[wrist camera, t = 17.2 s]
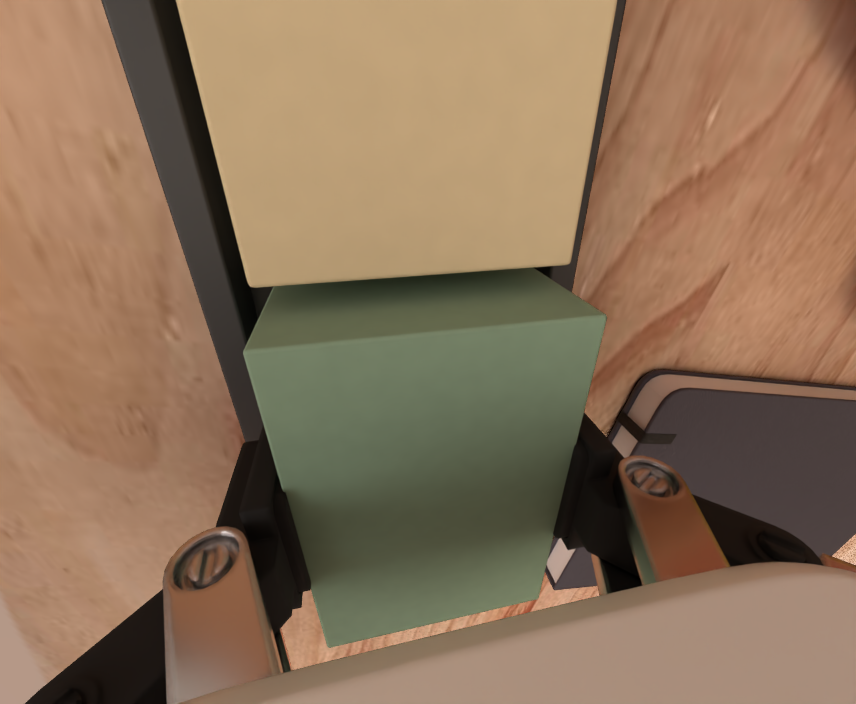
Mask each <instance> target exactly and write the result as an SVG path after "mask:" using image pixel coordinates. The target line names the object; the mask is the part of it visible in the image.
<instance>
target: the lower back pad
mask: <svg viewBox="0 0 856 704" xmlns="http://www.w3.org/2000/svg"><path fill="white" fill-rule="evenodd" d="M606 320H607V316H606V314H604V313H602V312H601V311H599V310H598V309H596V308H595V307H593V306H592V305H590V304H589V303H587V302H585V301H584V300H582V299H581V298H579V297H578V296H576V295H575V294H573V293H571V292H570V291H568V290H567V289H565V288H564V287H562V286H561V285H559V284H558V283H556V282H554V281H553V280H551V279H550V278H548V277H547V276H545V275H544V274H542V273H541V272H539V271H537V270H536V269H534V268H520V269H506V270H492V271H479V272H465V273H451V274H437V275H424V276H410V277H396V278H382V279H369V280H355V281H341V282H327V283H314V284H300V285H286V286H274V287H273V289H272V291H271V293H270V295H269V297H268V299H267V302H266V304H265V306H264V308H263V310H262V312H261V314H260V317H259V319H258V321H257V323H256V325H255V327H254V329H253V331H252V334H251V336H250V338H249V340H248V342H247V344H246V346H245V349H244V351H243V355H244V358H245V362H246V365H247V369H248V372H249V376H250V379H251V383H252V386H253V390H254V393H255V397H256V400H257V404H258V407H259V411H260V414H261V417H262V421H263V424H264V428H265V431H266V435H267V438H268V442H269V445H270V449H271V452H272V456H273V459H274V463H275V466H276V470H277V473H278V476H279V480H280V483H281V487H282V490H283V492H286V495H287V499H288V502H289V506H290V509H291V513H292V516H293V520H294V523H295V527H296V530H297V534H298V538H299V541H300V545H301V548H302V552H303V555H304V559H305V562H306V566H307V569H308V573H309V576H310V580H311V591H312V595H313V598H314V602H315V605H316V608H317V612H318V615H319V619H320V622H321V626H322V629H323V633H324V636H325V640H326V643H327V646H328V647H329V648H331V647H335V646H339V645H344V644H348V643H352V642H356V641H361V640H365V639H369V638H374V637H378V636H382V635H386V634H391V633H395V632H399V631H403V630H408V629H412V628H416V627H420V626H425V625H429V624H433V623H438V622H442V621H446V620H450V619H455V618H459V617H463V616H467V615H472V614H476V613H480V612H485V611H489V610H493V609H497V608H502V607H506V606H510V605H514V604H519V603H523V602H527V601H532V600H536V599H538V597H539V593H540V589H541V585H542V581H543V577H544V573H545V569H546V565H547V561H548V556H549V552H550V548H551V544H552V540H553V536H554V535H553V532H554V527H555V523H556V519H557V515H558V511H559V507H560V503H561V499H562V495H563V490H564V486H565V482H566V478H567V474H568V470H569V466H570V462H571V457H572V453H573V449H574V446H575V445H576V442H577V438H578V434H579V430H580V426H581V422H582V418H583V414H584V410H585V406H586V402H587V397H588V393H589V389H590V385H591V381H592V377H593V373H594V369H595V365H596V361H597V357H598V353H599V349H600V344H601V340H602V336H603V332H604V328H605V324H606Z"/></svg>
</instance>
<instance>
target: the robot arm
mask: <svg viewBox="0 0 856 704" xmlns="http://www.w3.org/2000/svg"><path fill="white" fill-rule="evenodd" d="M553 535H554V536H555V537H556V538H558V539H559V538H561V539H562V541H563V543H564V544H565V546H566V548H567V550H572V549H577V548H581V547H585V549H586V550H587V552H589V553H591V557H592V562H593V567H594V572H595V576H596V581H597V586H598V591H599V596H597V597H592V598H588V599H584V600H580V601H575V602H571V603H567V604H563V605H559V606H554V607H550V608H546V609H542V610H538V611H534V612H529V613H525V614H521V615H517V616H513V617H508V618H504V619H500V620H496V621H492V622H488V623H484V624H479V625H475V626H471V627H467V628H463V629H459V630H454V631H450V632H446V633H442V634H438V635H434V636H430V637H426V638H422V639H418V640H413V641H409V642H405V643H401V644H397V645H393V646H389V647H385V648H381V649H377V650H373V651H369V652H365V653H361V654H357V655H352V656H348V657H344V658H340V659H336V660H332V661H328V662H324V663H320V664H316V665H312V666H308V667H304V668H300V669H297V670H292V666H291V662H290V659H289V655H288V652H287V648H286V644H285V641H284V637H283V633H282V630H281V627H282V626H283V624H284V623H285V622H286V621H287V620H288V619H289V618H290V617H291V615H292V609H296V608H301V607H302V595H303V592H304V591H308V590H310V589H311V580H310V576H309V573H308V569H307V566H306V562H305V559H304V555H303V552H302V548H301V545H300V541H299V538H298V534H297V530H296V527H295V523H294V520H293V516H292V513H291V509H290V506H289V502H288V499H287V495H286V492H283V490H282V487H281V483H280V480H279V476H278V473H277V470H276V466H275V463H274V459H273V456H272V452H271V449H270V445H269V442H268V438H267V435H266V431H265V428H264V424H263V426H262V430H261V433H260V437H259V440H255V441H248V442H245V443H244V444H243V446H242V448H241V451H240V454H239V457H238V460H237V463H236V466H235V469H234V472H233V475H232V478H231V481H230V484H229V488H228V491H227V494H226V497H225V500H224V503H223V506H222V509H221V512H220V515H219V518H218V521H217V525H216V527H215V528H212V529H209V530H206V531H203V532H201V533H200V534H198V535H196V536H194V537H192V538H191V539H190V540H188V541H187V542H186V543H185V544H183V545H182V546H181V547H180V548H179V549H178V550H177V551H176V553H175V554H174V555H173V556H172V557H171V559H170V561H169V563H168V565H167V567H166V569H165V571H164V577H163V589H162V590H161V591H160V592H159V593H157V594H156V595H155V596H154V597H153V598H151V599H150V600H149V601H148V602H146V603H145V604H144V605H143V606H142V607H140V608H139V609H138V610H137V611H135V612H134V613H133V614H132V615H131V616H129V617H128V618H127V619H126V620H124V621H123V622H122V623H121V624H120V625H118V626H117V627H116V628H115V629H113V630H112V631H111V632H110V633H109V634H107V635H106V636H105V637H104V638H102V639H101V640H100V641H99V642H98V643H96V644H95V645H94V646H93V647H92V648H90V649H89V650H88V651H87V652H85V653H84V654H83V655H82V656H81V657H79V658H78V659H77V660H76V661H74V662H73V663H72V664H71V665H70V666H68V667H67V668H66V669H65V670H63V671H62V672H61V673H60V674H59V675H57V676H56V677H55V678H54V679H52V680H51V681H50V682H49V683H48V684H46V685H45V686H44V687H43V688H41V689H40V690H39V691H38V692H37V693H36V694H35V695H34V696H33V697H31V698H30V699H29V700H28V701H27V702H26V703H25V704H856V565H853V564H850V563H848V562H845V561H843V560H840V559H837V558H835V557H832V556H829V555H827V554H824V553H822V554H821V555H820V557H818V556H817V555H816V554H815V553H814V551H813V550H812V549H811V548H810V547H808V546H807V545H806V544H805V543H804V542H803V541H801V540H800V539H799V538H797V537H795V536H794V535H792V534H791V533H789V532H787V531H785V530H783V529H781V528H779V527H777V526H774V525H772V524H769V523H767V522H764V521H761V520H759V519H756V518H753V517H751V516H748V515H746V514H743V513H740V512H738V511H735V510H732V509H730V508H727V507H725V506H722V505H719V504H717V503H714V502H711V501H709V500H706V499H704V498H701V497H698V496H696V495H693V494H692V493H691V492H690V490H689V488H688V486H687V484H686V482H685V481H684V479H683V478H682V477H681V475H680V474H679V473H678V472H677V471H675V470H674V469H673V468H672V467H670V466H669V465H667V464H665V463H664V462H662V461H659V460H657V459H654V458H651V457H647V456H636V455H633V456H629V457H626V458H624V457H623V456H622V454H621V453H620V452H619V451H618V450H617V449H616V447H615V446H614V445H613V444H612V443H611V442H610V441H609V440H608V439H607V437H606V436H605V435H604V434H603V433H602V432H601V431H600V430H599V429H598V427H597V426H596V425H595V424H594V423H593V422H592V421H591V420H590V419H589V417H588V416H587V415H586V414H585V413H584V414H583V418H582V422H581V426H580V430H579V434H578V438H577V442H576V445H575V446H574V449H573V453H572V457H571V462H570V466H569V470H568V474H567V478H566V482H565V486H564V490H563V495H562V499H561V503H560V507H559V511H558V515H557V519H556V523H555V527H554V532H553Z"/></svg>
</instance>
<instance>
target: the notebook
mask: <svg viewBox="0 0 856 704" xmlns="http://www.w3.org/2000/svg"><path fill="white" fill-rule="evenodd" d="M607 439H608V440H609V441H610V442H611V443H612V444H613V445H614V446H615V447H616V449H617V450H618V451H619V452H620V453H621V454H622V456H623V457H624V458H626V457H629V456H633V455H636V456H647V457H651V458H654V459H657V460H659V461H662V462H664V463H665V464H667V465H669V466H670V467H672V468H673V469H674V470H675V471H677V472H678V473H679V474H680V475H681V477H682V478H683V479H684V481H685V482H686V484H687V486H688V488H689V490H690V492H691V493H692V494H693V495H696V496H698V497H701V498H704V499H706V500H709V501H711V502H714V503H717V504H719V505H722V506H725V507H727V508H730V509H732V510H735V511H738V512H740V513H743V514H746V515H748V516H751V517H753V518H756V519H759V520H761V521H764V522H767V523H769V524H772V525H774V526H777V527H779V528H781V529H783V530H785V531H787V532H789V533H791V534H792V535H794V536H795V537H797V538H799V539H800V540H801V541H803V542H804V543H805V544H806V545H807V546H808V547H810V548H811V549H812V550H813V551H814V553H815V554H816V555H817V556H818V557H820V555H821V554H822V553H824V554H827V555H829V556H832V555H833V554H834V553H836V552H837V551H838V550H839V549H840V548H841V547H842V546H843V545H844V544H845V543H846V542H847V541H848V540H849V539H850V538H851V537H853V536H854V535H855V534H856V387H848V386H838V385H827V384H816V383H805V382H794V381H783V380H772V379H761V378H750V377H739V376H728V375H717V374H707V373H696V372H685V371H674V370H654V371H652V372H649V373H647V374H646V375H645V376H644V377H642V378H641V379H640V380H639V382H638V383H637V385H636V386H635V388H634V390H633V391H632V393H631V395H630V397H629V399H628V401H627V403H626V404H625V406H624V408H623V410H622V411H621V412H620V414H619V416H618V418H617V421H616V423H615V425H614V427H613V429H612V431H611V433H610V434H609V436H608V438H607ZM545 573H546V575H547V577H548V579H549V581H550V583H551V585H552V587H553V589H554V590H561V589H570V588H580V587H590V586H597V581H596V576H595V572H594V567H593V562H592V557H591V553H589V552H587V550H586V549H585V547H581V548H577V549H572V550H567V548H566V546H565V544H564V543H563V541H562V539H561V538H559V539H558V538H556V537H554V539H553V541H552V544H551V548H550V552H549V556H548V561H547V565H546V569H545Z"/></svg>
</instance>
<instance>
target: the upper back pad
mask: <svg viewBox="0 0 856 704" xmlns="http://www.w3.org/2000/svg"><path fill="white" fill-rule="evenodd" d="M176 3H177V7H178V11H179V15H180V19H181V23H182V27H183V31H184V34H185V38H186V42H187V46H188V50H189V54H190V58H191V62H192V66H193V70H194V74H195V78H196V82H197V86H198V90H199V94H200V98H201V102H202V105H203V109H204V113H205V117H206V121H207V125H208V129H209V133H210V137H211V141H212V145H213V149H214V153H215V157H216V161H217V165H218V169H219V172H220V176H221V180H222V184H223V188H224V192H225V196H226V200H227V204H228V208H229V212H230V216H231V220H232V224H233V228H234V232H235V236H236V239H237V243H238V247H239V251H240V255H241V259H242V263H243V267H244V271H245V275H246V279H247V283H248V284H249V286H250V287H254V288H259V287H272V286H286V285H300V284H314V283H327V282H341V281H355V280H369V279H382V278H396V277H410V276H424V275H437V274H451V273H465V272H479V271H492V270H506V269H520V268H533V267H547V266H561V265H568V264H570V262H571V258H572V252H573V246H574V241H575V235H576V230H577V224H578V218H579V213H580V207H581V201H582V196H583V190H584V185H585V179H586V173H587V168H588V162H589V157H590V151H591V145H592V140H593V134H594V129H595V123H596V117H597V112H598V106H599V100H600V95H601V89H602V84H603V78H604V72H605V67H606V61H607V56H608V50H609V44H610V39H611V33H612V27H613V22H614V16H615V11H616V5H617V0H176Z"/></svg>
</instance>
